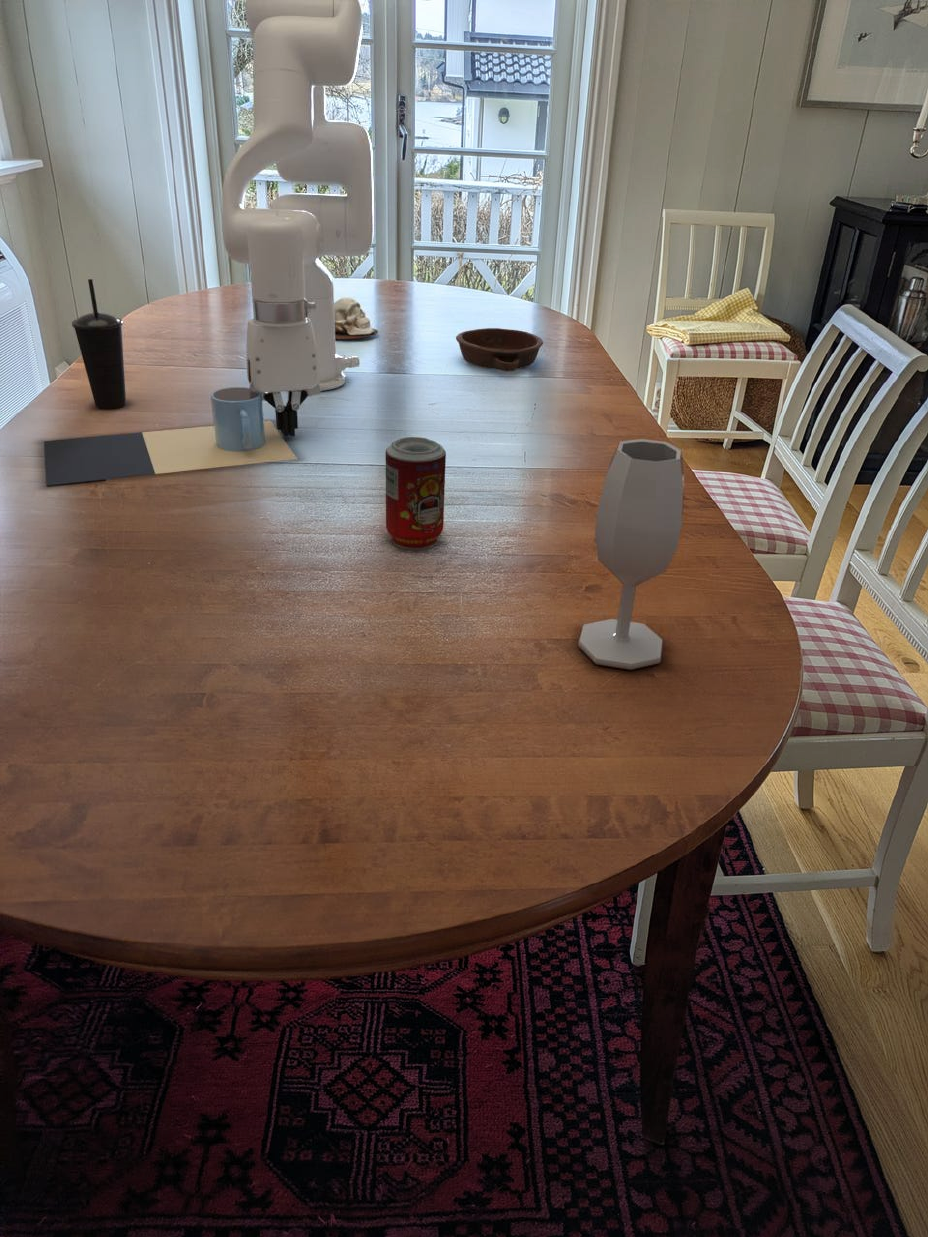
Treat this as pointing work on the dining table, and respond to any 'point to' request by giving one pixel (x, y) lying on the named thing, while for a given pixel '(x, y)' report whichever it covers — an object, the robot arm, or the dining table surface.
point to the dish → (499, 348)
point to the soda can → (415, 492)
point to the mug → (238, 419)
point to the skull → (351, 320)
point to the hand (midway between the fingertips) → (287, 433)
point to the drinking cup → (102, 355)
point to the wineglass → (635, 544)
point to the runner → (151, 454)
